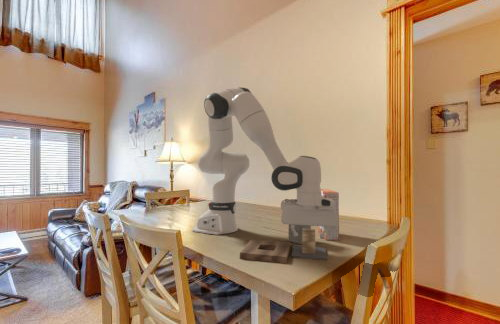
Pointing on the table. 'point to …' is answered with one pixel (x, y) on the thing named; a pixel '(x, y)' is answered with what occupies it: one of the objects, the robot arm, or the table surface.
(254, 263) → the table surface
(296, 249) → the rubber mat
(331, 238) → the cracker box
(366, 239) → the table surface
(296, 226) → the skincare box
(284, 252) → the pocket plate
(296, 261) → the table surface
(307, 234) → the maple block
